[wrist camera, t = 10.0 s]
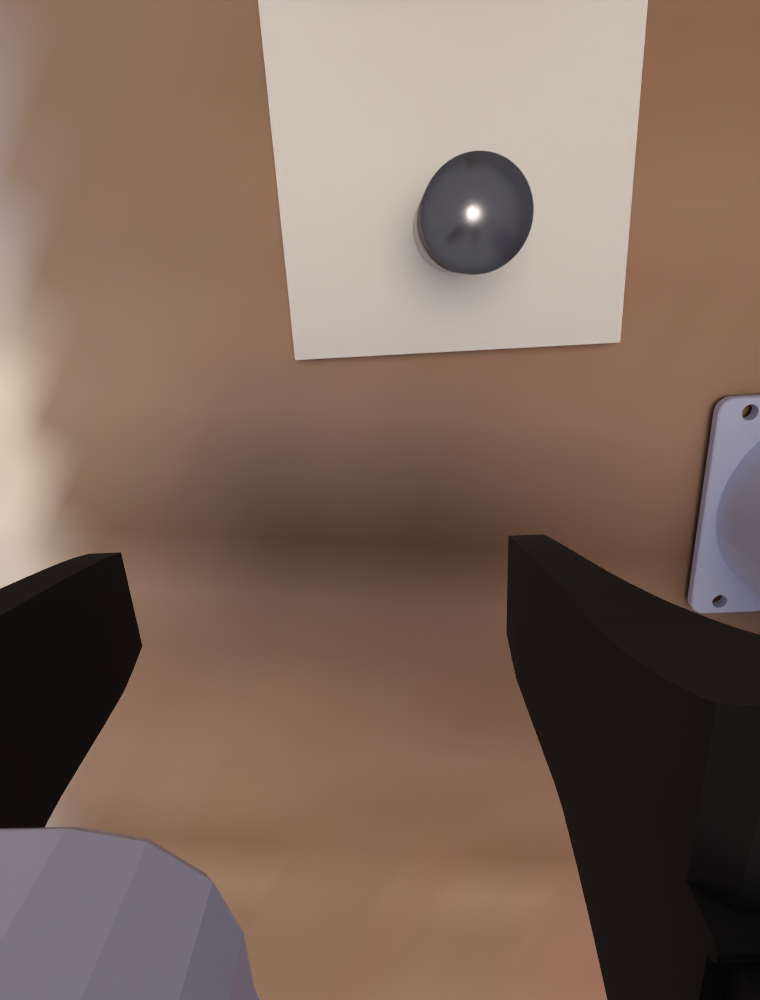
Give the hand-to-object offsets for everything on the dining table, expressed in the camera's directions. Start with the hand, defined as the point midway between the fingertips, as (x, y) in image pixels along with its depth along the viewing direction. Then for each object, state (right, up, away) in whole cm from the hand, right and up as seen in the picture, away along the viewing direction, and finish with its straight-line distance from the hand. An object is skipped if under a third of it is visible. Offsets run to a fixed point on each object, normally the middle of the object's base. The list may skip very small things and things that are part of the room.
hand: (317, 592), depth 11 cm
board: (+3, +15, +6) cm, 16 cm away
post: (+3, +10, +7) cm, 13 cm away
